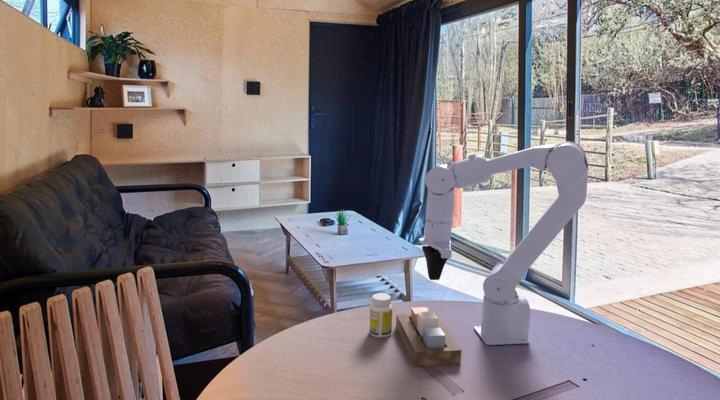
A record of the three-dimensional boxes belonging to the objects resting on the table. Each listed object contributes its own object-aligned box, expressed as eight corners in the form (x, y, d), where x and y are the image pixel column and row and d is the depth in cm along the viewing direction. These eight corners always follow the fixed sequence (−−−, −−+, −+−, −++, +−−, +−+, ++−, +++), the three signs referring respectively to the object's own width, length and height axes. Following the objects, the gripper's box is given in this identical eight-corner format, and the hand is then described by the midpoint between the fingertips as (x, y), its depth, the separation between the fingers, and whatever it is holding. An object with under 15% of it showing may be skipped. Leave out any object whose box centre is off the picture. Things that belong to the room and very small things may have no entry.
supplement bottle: (391, 328, 114) (393, 293, 113) (390, 338, 110) (392, 301, 108) (370, 327, 115) (371, 291, 113) (368, 337, 110) (369, 300, 108)
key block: (435, 325, 117) (435, 312, 116) (460, 364, 100) (461, 350, 100) (395, 327, 115) (396, 314, 115) (415, 366, 99) (415, 352, 98)
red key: (425, 322, 114) (426, 307, 113) (429, 329, 111) (430, 313, 110) (410, 323, 114) (411, 307, 113) (414, 330, 110) (415, 314, 110)
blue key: (439, 344, 104) (440, 327, 104) (444, 352, 101) (445, 335, 100) (422, 345, 104) (423, 328, 103) (427, 353, 101) (428, 336, 100)
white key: (432, 327, 109) (433, 311, 108) (437, 335, 106) (438, 318, 105) (416, 328, 109) (417, 312, 108) (420, 336, 105) (421, 319, 104)
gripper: (412, 211, 120) (408, 267, 122) (430, 229, 106) (425, 291, 108) (442, 212, 121) (437, 267, 124) (463, 229, 107) (457, 291, 110)
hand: (434, 278), depth 116 cm, fingers closed
